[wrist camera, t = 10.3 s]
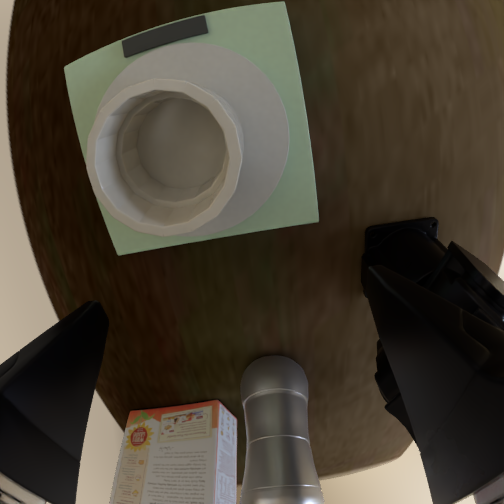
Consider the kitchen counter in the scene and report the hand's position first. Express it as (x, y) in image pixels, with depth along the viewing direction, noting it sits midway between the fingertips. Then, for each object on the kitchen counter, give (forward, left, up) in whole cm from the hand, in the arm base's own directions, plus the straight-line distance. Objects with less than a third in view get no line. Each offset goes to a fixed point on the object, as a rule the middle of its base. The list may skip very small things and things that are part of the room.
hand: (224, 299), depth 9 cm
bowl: (+2, -4, -9) cm, 10 cm away
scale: (+2, -4, -12) cm, 13 cm away
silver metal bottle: (0, +19, -12) cm, 22 cm away
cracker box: (+13, +28, -12) cm, 33 cm away
